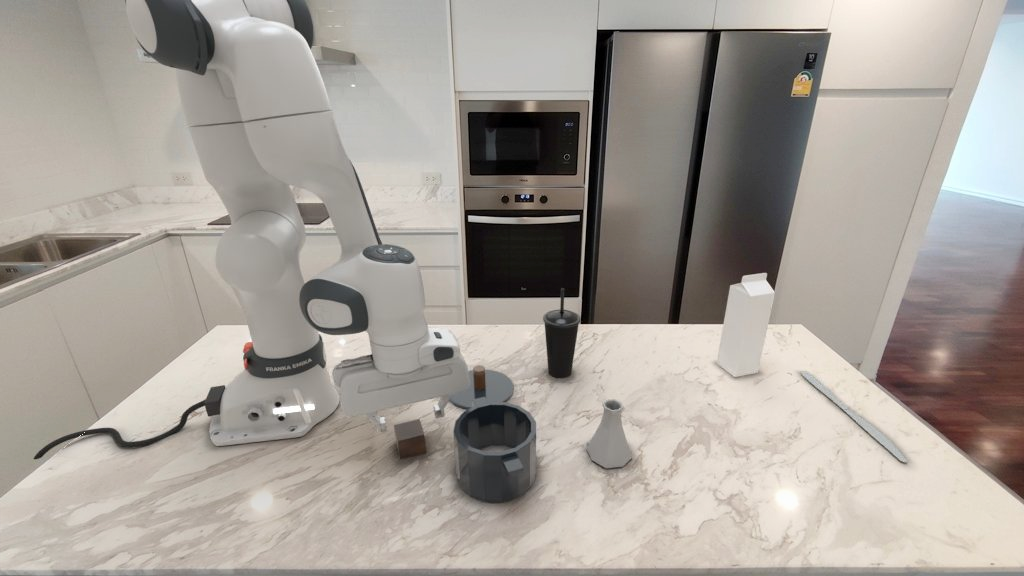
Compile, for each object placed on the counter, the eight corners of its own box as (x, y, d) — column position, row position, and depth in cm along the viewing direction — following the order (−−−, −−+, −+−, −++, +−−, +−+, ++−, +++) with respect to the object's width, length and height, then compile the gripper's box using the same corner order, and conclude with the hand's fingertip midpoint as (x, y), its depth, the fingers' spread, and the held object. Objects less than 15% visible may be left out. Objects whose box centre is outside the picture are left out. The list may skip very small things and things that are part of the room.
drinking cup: (576, 386, 99) (580, 297, 92) (539, 382, 101) (540, 295, 93) (579, 366, 106) (583, 283, 98) (544, 363, 108) (546, 280, 100)
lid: (456, 419, 90) (454, 394, 87) (439, 381, 101) (437, 358, 99) (523, 403, 94) (523, 379, 92) (500, 369, 106) (500, 346, 104)
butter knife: (812, 370, 103) (798, 370, 102) (916, 462, 78) (898, 462, 78) (811, 372, 103) (797, 372, 103) (914, 464, 78) (897, 464, 78)
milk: (757, 373, 103) (779, 278, 94) (734, 377, 102) (754, 281, 93) (738, 359, 108) (757, 267, 100) (715, 363, 107) (732, 270, 98)
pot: (474, 527, 67) (472, 478, 64) (445, 445, 83) (441, 402, 80) (556, 501, 72) (557, 454, 68) (513, 428, 87) (512, 386, 84)
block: (400, 462, 79) (397, 441, 78) (396, 445, 83) (393, 424, 82) (426, 455, 81) (424, 434, 79) (421, 439, 85) (419, 418, 83)
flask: (605, 475, 76) (609, 424, 72) (578, 447, 82) (581, 399, 78) (640, 460, 79) (646, 410, 76) (612, 434, 85) (616, 387, 81)
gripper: (330, 373, 68) (346, 451, 73) (469, 345, 74) (475, 418, 79) (329, 352, 73) (344, 426, 79) (459, 328, 80) (465, 398, 85)
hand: (411, 422), depth 79 cm, fingers open, 8 cm apart
